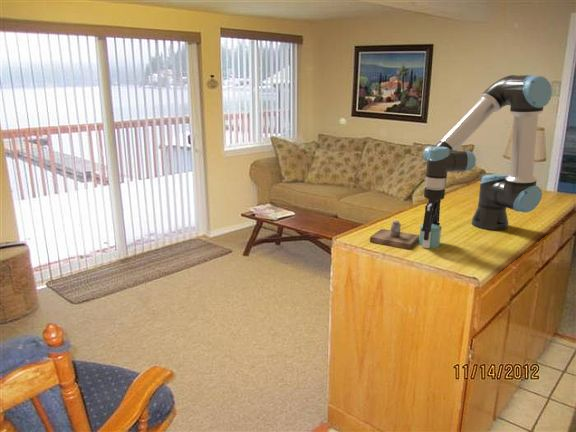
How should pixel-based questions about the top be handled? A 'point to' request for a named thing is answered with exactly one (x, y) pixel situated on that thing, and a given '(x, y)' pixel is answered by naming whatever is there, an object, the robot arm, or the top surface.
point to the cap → (432, 235)
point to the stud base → (394, 237)
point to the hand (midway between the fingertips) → (428, 244)
